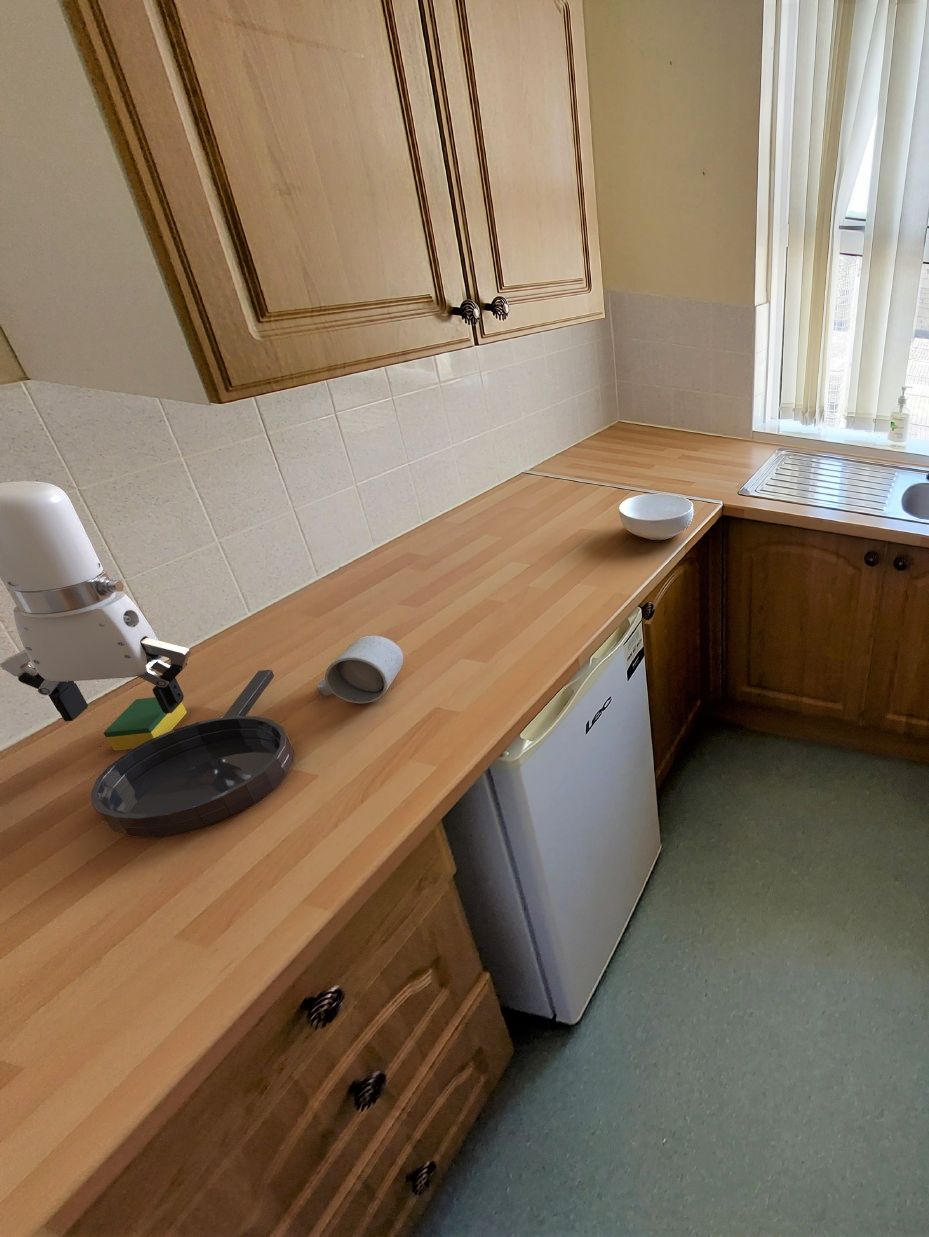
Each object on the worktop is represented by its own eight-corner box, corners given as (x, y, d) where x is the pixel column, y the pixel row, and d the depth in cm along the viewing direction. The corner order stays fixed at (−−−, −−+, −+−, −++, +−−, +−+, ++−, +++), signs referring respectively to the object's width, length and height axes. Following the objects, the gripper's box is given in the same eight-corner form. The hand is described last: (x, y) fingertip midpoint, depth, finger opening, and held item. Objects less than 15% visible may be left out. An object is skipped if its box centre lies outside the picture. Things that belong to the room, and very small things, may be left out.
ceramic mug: (412, 670, 100) (398, 627, 96) (393, 702, 93) (377, 658, 89) (335, 674, 98) (318, 631, 94) (309, 708, 91) (289, 663, 87)
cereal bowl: (639, 516, 160) (636, 489, 156) (703, 525, 158) (702, 497, 155) (608, 542, 145) (605, 513, 142) (679, 552, 144) (678, 522, 140)
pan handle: (224, 726, 83) (220, 718, 83) (261, 677, 92) (258, 670, 92) (239, 724, 84) (236, 717, 83) (274, 676, 93) (271, 669, 92)
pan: (66, 853, 68) (49, 830, 66) (157, 746, 82) (145, 725, 81) (261, 825, 73) (250, 803, 71) (316, 728, 87) (307, 708, 85)
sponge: (114, 751, 81) (102, 732, 80) (146, 716, 87) (136, 698, 85) (158, 746, 82) (148, 728, 81) (187, 712, 88) (178, 694, 87)
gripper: (176, 574, 79) (224, 687, 88) (-12, 579, 74) (58, 699, 83) (140, 603, 73) (195, 722, 82) (-68, 611, 68) (14, 737, 76)
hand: (126, 710), depth 82 cm, fingers open, 9 cm apart
